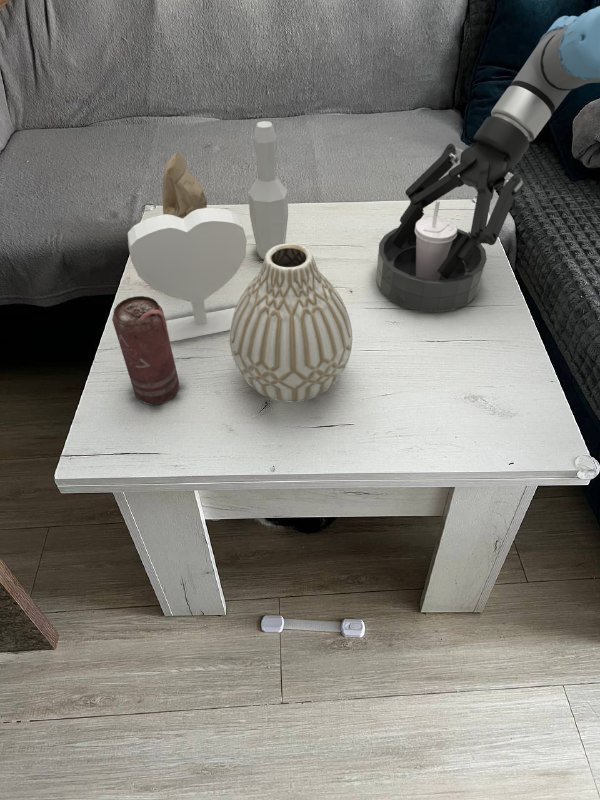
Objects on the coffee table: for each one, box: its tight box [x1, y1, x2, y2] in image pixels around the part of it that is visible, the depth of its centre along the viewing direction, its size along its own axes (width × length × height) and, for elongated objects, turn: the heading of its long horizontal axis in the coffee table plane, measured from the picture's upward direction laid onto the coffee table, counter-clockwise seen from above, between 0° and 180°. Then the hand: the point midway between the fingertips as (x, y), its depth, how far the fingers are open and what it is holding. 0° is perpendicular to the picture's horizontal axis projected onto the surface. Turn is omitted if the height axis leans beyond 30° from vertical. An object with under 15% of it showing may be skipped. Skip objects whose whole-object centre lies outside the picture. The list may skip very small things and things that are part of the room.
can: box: [111, 295, 180, 406], centre depth 77 cm, size 6×6×14 cm
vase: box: [229, 242, 353, 403], centre depth 76 cm, size 16×16×20 cm
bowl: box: [375, 227, 488, 313], centre depth 96 cm, size 17×17×6 cm
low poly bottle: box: [247, 120, 289, 260], centre depth 97 cm, size 6×6×22 cm
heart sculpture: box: [127, 207, 248, 343], centre depth 85 cm, size 16×5×18 cm, turn 107°
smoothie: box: [415, 199, 458, 280], centre depth 93 cm, size 6×6×14 cm
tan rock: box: [162, 152, 208, 219], centre depth 93 cm, size 13×7×20 cm, turn 171°
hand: (417, 259), depth 93 cm, fingers open, 10 cm apart
